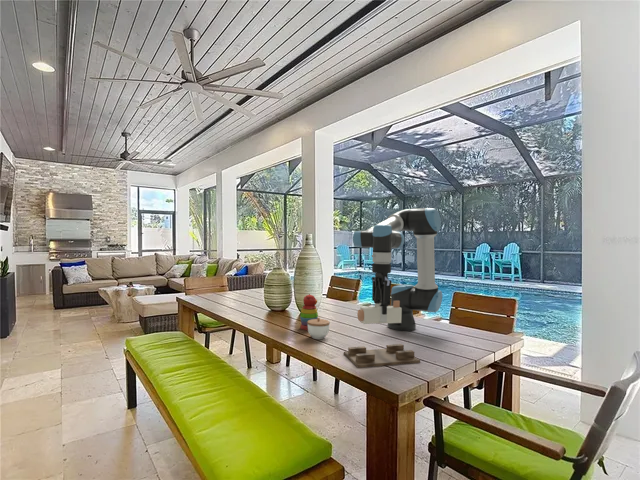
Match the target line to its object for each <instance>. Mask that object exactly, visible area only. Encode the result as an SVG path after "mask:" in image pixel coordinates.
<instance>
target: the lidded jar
mask: <svg viewBox="0 0 640 480" xmlns="http://www.w3.org/2000/svg"><path fill="white" fill-rule="evenodd" d="M330 323H331V322H330V320H328V319H324V318H319V317H318V318H317V319H312V320H308V322H307V324H308V330H307V332H308V334H309V335H310V337H311V338H312V339H314V340H323V339H325V337H326V336H327V335H328V333H329V330H330Z"/></svg>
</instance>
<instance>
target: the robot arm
mask: <svg viewBox="0 0 640 480" xmlns="http://www.w3.org/2000/svg"><path fill="white" fill-rule="evenodd" d="M441 226H442V219H441V216H440V213H439V211H438V210H437V209H436V208H432V207H430V208H429V207H424V208H405V209H402V210H399V211H397V212H395V213H392V214H390V215H388V216H387V218H386V219H384V220H383V221H381V222H378V223H377V224H375V225H373V226H371V227H369V228H367V229H364V230H355V232H354V233H353V235H352V243H353V245H354V246H355V248H365V249H366V248H371V249H372V254H371V257H372V262H373V263H371V267H372V268H371V273H374V274H375V276H372V277H371V281H372V282H371V283H372V285H371V286H372V287H371V288H372V289H371V290H372V291H371V292H372V294H371V295H372V297H371V298H372V300H371V301H373V303H374V306H380V323H382V324H386V323H385V322H387V306H393V301H400V307H401V308H402V315H401V323H387V328H388V329H391V330H395V331H405V332H406V331H407V332H408V331H413V330H416V329H417V324H416V320H415V318H414V314H413V312H414V311H418V312H427V313H437V312H438V311H439V310H440V308H441V305H442V303H443V291H442V290H440V289H439V286H438V285H437V284H436V272H435V270H436V268H435V266H436V265H435V237H437V235H438V232H439V231H441V228H442V227H441ZM409 231H410V232H413V235H414V237H415V238H416V256H417V257H416V259H417V262H416V263H417V264H416V265H417V267H416V268H417V283H416V284H415V285H413V284H399V285H394V286H392V287H391V285H392V280H391V279H389V276H388V274H391V272H392V264H391V263H392V249H395V250H396V249H400V248H401V247H402V246H403V245H404V244H405V238H406V237H405V234H403V233H402V232H409Z"/></svg>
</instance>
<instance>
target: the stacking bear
mask: <svg viewBox="0 0 640 480" xmlns="http://www.w3.org/2000/svg"><path fill="white" fill-rule="evenodd" d="M317 303H318V299H316V297H315V296H314V295H312V294H310V293H309V294H307V295H305V296H304V297H303V306H302V307H301V310H300V316H299V319H300V323H301V324H300V327H299V328H300V329H301V330H304V331H308V324H307V322H308V320H312V319H317V318H319V314H318V309H317V306H316V304H317Z"/></svg>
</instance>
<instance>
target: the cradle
mask: <svg viewBox="0 0 640 480" xmlns="http://www.w3.org/2000/svg"><path fill="white" fill-rule="evenodd" d="M404 347H405V346H404V344H402V343H397V344H394V343H393V344H386V347H385V348H375V349H367V347H366V346H364V345H363V346H349V347H347V349H348V350H347V351H343V355H344V356H345V357H346V358H347V359H348V360H349V361H350V362H351V363H352V364H353V365H354V366H355V367H356V368H358V369H359V368H372V367H383V366H384V367H385V366H394V365H406V364H407V365H408V364H419V363H421V359H420V358H418V357H417V356H415V351H414V350H413V349H409V350H408V349H407V350H405V349H404Z"/></svg>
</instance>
